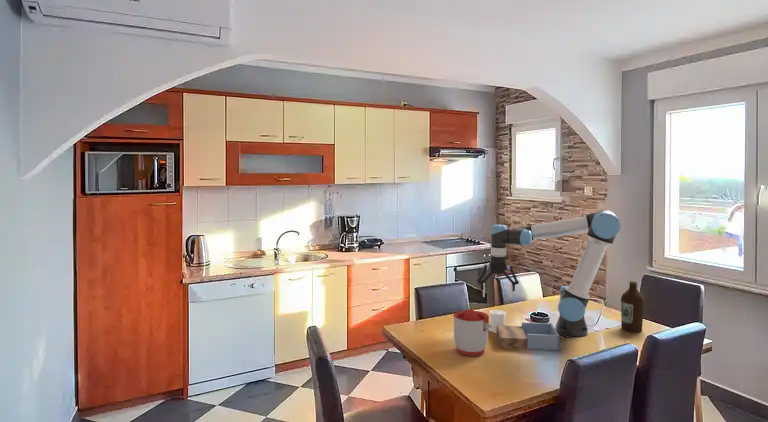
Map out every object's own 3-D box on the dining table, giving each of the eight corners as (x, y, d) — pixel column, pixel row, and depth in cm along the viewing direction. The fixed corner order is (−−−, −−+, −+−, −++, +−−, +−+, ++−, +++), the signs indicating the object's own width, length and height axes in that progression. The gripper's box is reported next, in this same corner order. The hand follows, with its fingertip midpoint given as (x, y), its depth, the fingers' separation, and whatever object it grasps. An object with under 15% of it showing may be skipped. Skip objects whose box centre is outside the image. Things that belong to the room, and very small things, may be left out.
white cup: (505, 334, 236) (506, 314, 235) (489, 333, 238) (489, 313, 237) (505, 329, 244) (505, 310, 243) (489, 328, 245) (489, 309, 244)
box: (551, 337, 231) (551, 323, 231) (559, 351, 213) (559, 335, 213) (521, 336, 233) (521, 322, 233) (527, 349, 215) (527, 334, 215)
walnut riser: (521, 336, 233) (521, 326, 233) (527, 349, 215) (527, 338, 215) (496, 335, 235) (496, 325, 234) (500, 348, 217) (500, 337, 217)
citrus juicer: (485, 362, 201) (485, 316, 200) (447, 354, 211) (447, 310, 209) (497, 350, 215) (497, 307, 213) (461, 343, 224) (461, 302, 222)
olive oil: (630, 325, 249) (631, 278, 247) (648, 331, 239) (650, 282, 237) (615, 327, 245) (616, 280, 243) (633, 334, 235) (634, 284, 233)
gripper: (522, 254, 240) (521, 295, 241) (472, 253, 243) (472, 294, 245) (525, 257, 232) (524, 299, 234) (473, 256, 236) (472, 297, 237)
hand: (497, 297), depth 239 cm, fingers open, 13 cm apart
